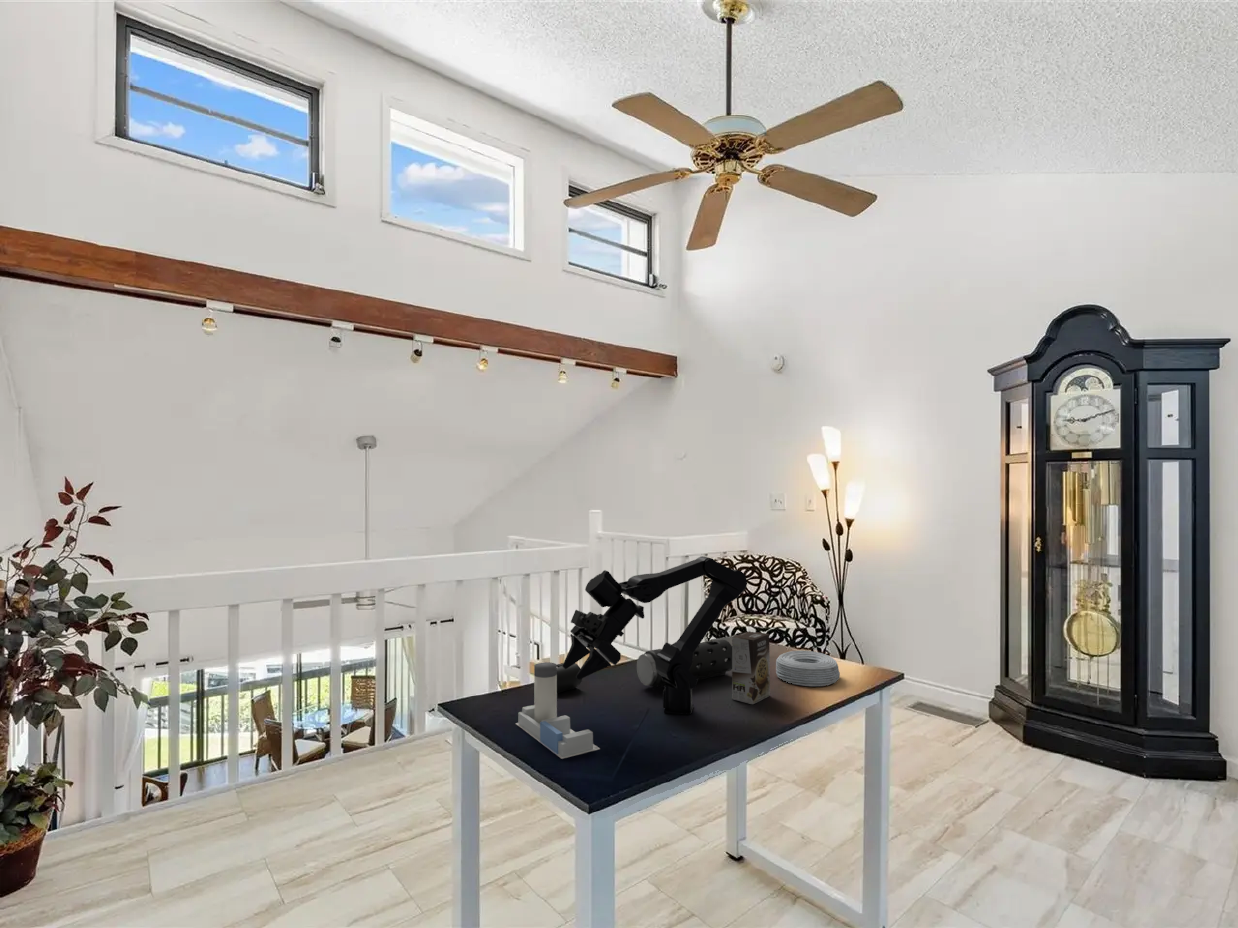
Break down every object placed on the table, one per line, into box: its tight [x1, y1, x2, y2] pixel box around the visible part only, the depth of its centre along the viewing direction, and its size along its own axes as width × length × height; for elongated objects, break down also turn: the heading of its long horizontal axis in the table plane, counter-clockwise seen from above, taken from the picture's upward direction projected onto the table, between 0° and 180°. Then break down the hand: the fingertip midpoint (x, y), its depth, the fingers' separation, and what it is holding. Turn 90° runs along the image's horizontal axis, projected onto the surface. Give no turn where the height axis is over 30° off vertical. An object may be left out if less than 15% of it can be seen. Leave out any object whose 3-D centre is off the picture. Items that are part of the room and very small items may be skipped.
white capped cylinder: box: [533, 661, 558, 724], centre depth 150 cm, size 5×5×14 cm
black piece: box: [556, 662, 583, 694], centre depth 179 cm, size 10×7×7 cm
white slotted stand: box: [515, 704, 601, 760], centre depth 146 cm, size 9×23×5 cm, turn 32°
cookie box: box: [731, 630, 771, 705], centre depth 173 cm, size 9×6×16 cm
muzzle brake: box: [636, 639, 732, 688], centre depth 187 cm, size 10×28×10 cm, turn 121°
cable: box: [775, 650, 841, 687], centre depth 190 cm, size 18×18×6 cm
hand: (570, 672), depth 153 cm, fingers open, 9 cm apart
